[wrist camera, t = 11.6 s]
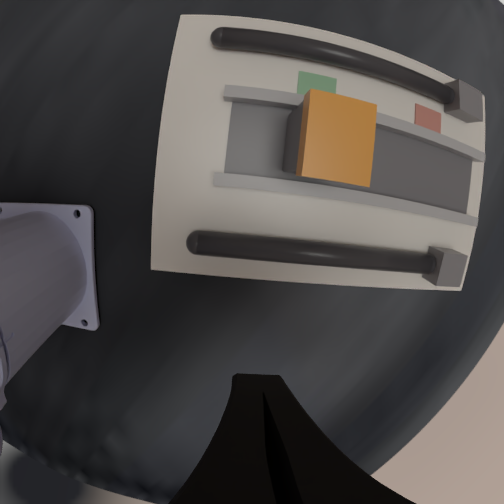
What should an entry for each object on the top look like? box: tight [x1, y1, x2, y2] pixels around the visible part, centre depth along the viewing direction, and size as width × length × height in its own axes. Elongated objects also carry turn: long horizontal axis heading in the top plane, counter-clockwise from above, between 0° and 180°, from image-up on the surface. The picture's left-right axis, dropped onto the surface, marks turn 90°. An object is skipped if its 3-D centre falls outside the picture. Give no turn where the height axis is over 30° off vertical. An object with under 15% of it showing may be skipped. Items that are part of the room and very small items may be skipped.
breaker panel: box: [151, 15, 486, 291], centre depth 14 cm, size 20×14×3 cm
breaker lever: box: [282, 89, 377, 187], centre depth 12 cm, size 3×3×4 cm
